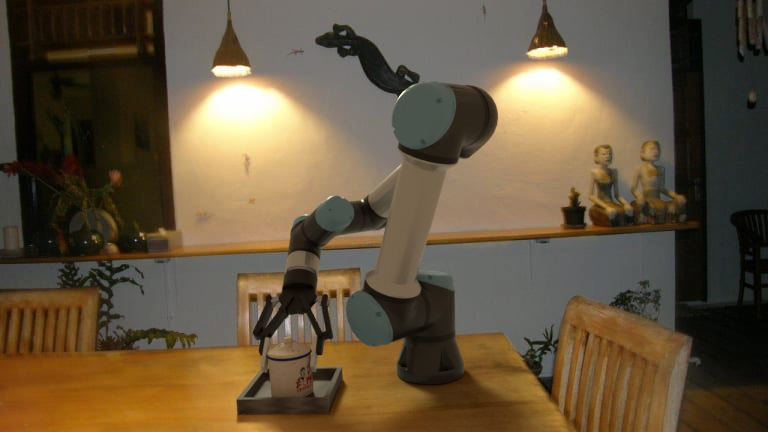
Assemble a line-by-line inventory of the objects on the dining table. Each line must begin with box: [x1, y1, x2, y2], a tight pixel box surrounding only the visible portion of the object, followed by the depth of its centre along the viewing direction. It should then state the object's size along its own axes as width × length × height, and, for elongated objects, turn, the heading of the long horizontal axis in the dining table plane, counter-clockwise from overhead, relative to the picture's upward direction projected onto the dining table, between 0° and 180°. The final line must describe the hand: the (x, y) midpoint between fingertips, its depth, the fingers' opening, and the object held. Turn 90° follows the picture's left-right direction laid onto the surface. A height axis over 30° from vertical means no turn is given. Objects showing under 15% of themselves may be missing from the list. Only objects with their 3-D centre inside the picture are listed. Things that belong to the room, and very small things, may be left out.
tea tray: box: [236, 366, 344, 415], centre depth 127 cm, size 18×18×3 cm
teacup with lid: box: [267, 335, 314, 397], centre depth 126 cm, size 12×9×12 cm
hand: (288, 369), depth 123 cm, fingers open, 9 cm apart
